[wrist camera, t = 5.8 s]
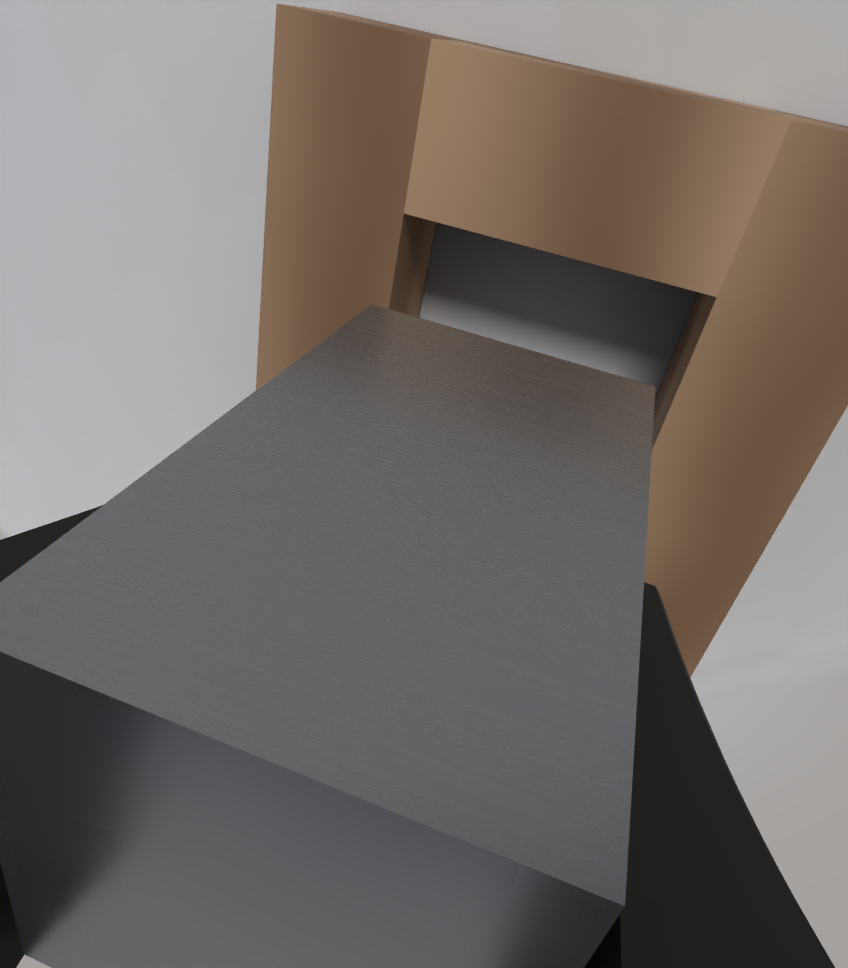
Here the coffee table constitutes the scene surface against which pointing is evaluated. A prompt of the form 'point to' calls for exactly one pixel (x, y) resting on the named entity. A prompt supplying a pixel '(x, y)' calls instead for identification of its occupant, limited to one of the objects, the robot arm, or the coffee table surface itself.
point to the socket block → (580, 250)
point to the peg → (341, 674)
